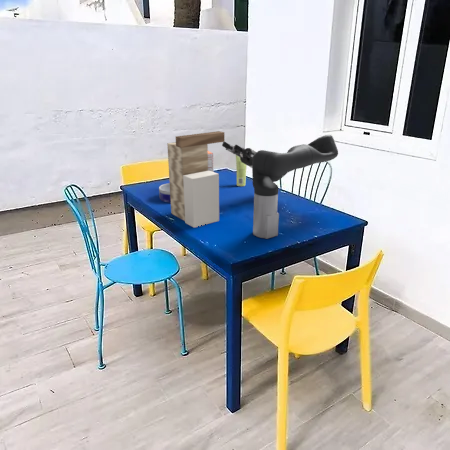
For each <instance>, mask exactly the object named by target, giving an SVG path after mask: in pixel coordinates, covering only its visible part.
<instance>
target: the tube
mask: <svg viewBox="0 0 450 450" xmlns="http://www.w3.org/2000/svg"><path fill="white" fill-rule="evenodd" d="M235 162H236V165H235V166H236V169H235V170H236V186H238V187H245V186H246V183H247V182H246V181H247V180H246V179H247V165H246V164H244V163H242V162H241V160H240V157H239V156H237V155H235Z"/></svg>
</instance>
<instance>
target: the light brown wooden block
mask: <svg viewBox="0 0 450 450" xmlns="http://www.w3.org/2000/svg"><path fill="white" fill-rule="evenodd" d="M175 142H176V146H177V147H180V148H184V147H191V146H198V145H205V144H208V145H210V144H216V143H217V144H218V143H223V142H225V132H224V131H219V130H218V131H210V132H209V131H208V132H202V133H192V134H186V135H185V134H183V135H177V136H175Z"/></svg>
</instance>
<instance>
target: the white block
mask: <svg viewBox="0 0 450 450" xmlns="http://www.w3.org/2000/svg"><path fill="white" fill-rule="evenodd" d="M219 174H220V173H217V172H215V171H213V172H212V171H204V172H198V173H193V174H188V175H183V183H184V206H185V221H184V222H185V224H186V225H188V226H190V227H192V228H193V229H194V228H198V226H199V227H202V226H205V224H206V225H208V224H213V223H216V222H219V221H220V175H219ZM201 225H202V226H201Z"/></svg>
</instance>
